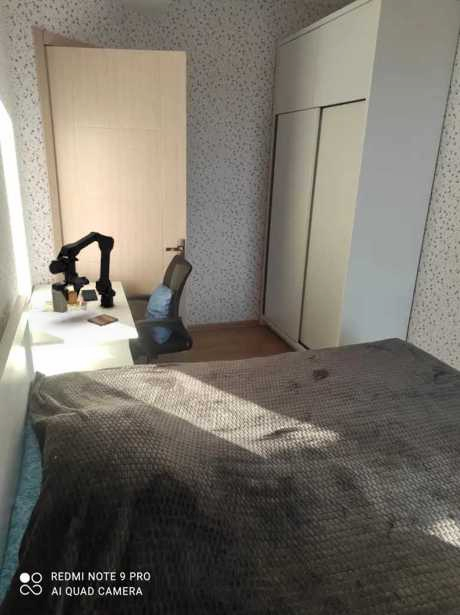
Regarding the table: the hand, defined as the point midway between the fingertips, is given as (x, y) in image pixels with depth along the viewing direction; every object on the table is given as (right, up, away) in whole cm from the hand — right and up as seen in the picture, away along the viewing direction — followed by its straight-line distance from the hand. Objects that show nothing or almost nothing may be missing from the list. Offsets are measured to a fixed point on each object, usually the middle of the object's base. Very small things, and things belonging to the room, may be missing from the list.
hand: (72, 300), depth 235 cm
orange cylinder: (0, -2, 0) cm, 2 cm away
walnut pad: (+16, -11, 0) cm, 19 cm away
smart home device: (-3, +2, +39) cm, 39 cm away
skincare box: (-11, -6, +12) cm, 17 cm away
